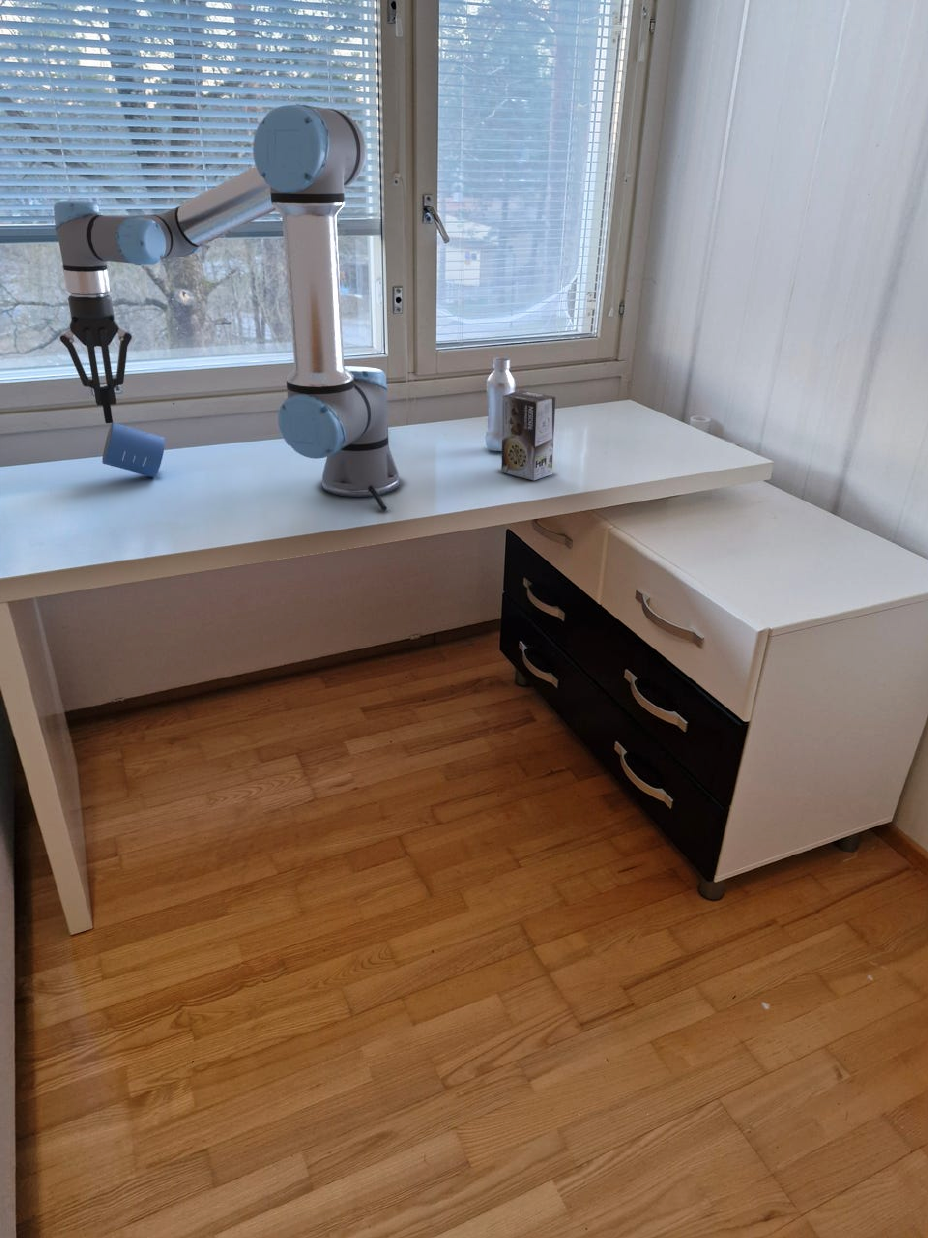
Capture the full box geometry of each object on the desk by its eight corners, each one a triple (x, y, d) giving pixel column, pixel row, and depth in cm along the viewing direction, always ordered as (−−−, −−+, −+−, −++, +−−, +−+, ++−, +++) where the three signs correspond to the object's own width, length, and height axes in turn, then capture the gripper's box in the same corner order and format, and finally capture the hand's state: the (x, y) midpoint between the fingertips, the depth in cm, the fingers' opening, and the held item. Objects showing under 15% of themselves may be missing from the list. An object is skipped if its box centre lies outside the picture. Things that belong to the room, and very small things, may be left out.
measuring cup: (152, 466, 181) (164, 430, 178) (154, 484, 175) (166, 447, 172) (102, 452, 177) (112, 415, 173) (101, 470, 170) (112, 432, 167)
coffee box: (553, 474, 180) (557, 396, 173) (533, 481, 176) (537, 401, 169) (519, 465, 186) (521, 388, 178) (499, 471, 182) (501, 394, 174)
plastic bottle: (519, 448, 196) (522, 358, 187) (504, 456, 191) (507, 363, 182) (494, 444, 199) (496, 354, 190) (479, 451, 194) (480, 359, 185)
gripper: (124, 290, 165) (141, 414, 176) (50, 292, 160) (72, 418, 171) (128, 296, 159) (145, 423, 170) (51, 297, 154) (74, 428, 165)
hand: (109, 421), depth 170 cm, fingers closed
